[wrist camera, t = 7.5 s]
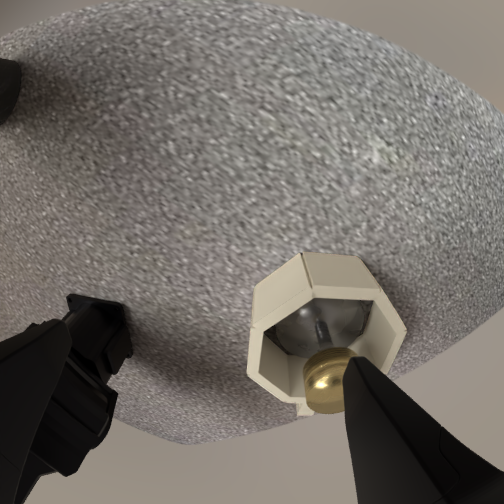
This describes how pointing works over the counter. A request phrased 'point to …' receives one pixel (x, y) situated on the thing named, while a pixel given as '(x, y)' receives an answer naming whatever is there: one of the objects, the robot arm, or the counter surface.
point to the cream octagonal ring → (299, 293)
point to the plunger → (323, 347)
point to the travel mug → (8, 86)
